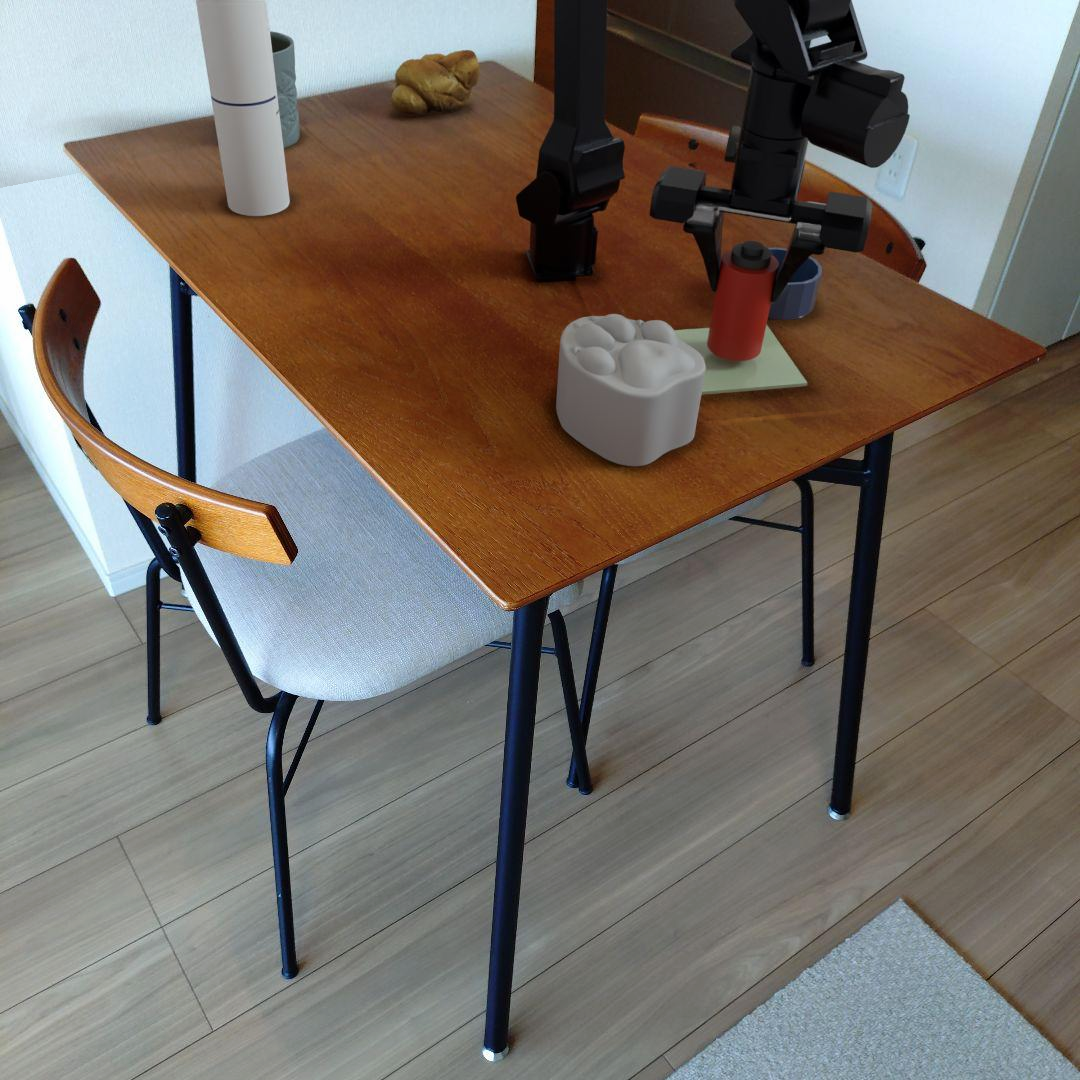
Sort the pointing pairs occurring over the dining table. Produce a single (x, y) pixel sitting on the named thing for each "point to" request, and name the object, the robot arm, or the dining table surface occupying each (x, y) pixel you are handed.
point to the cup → (796, 289)
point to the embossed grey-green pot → (286, 86)
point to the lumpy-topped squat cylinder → (628, 387)
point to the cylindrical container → (245, 104)
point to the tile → (744, 366)
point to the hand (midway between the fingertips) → (744, 295)
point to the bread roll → (435, 83)
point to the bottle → (742, 301)
